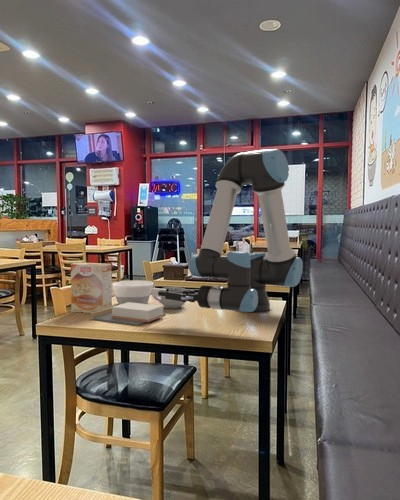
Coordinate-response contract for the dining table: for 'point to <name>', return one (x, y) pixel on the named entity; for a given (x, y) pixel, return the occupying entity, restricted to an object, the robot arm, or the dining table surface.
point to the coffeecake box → (90, 287)
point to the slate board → (107, 317)
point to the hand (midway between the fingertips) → (152, 292)
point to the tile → (137, 311)
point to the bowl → (132, 291)
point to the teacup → (170, 303)
